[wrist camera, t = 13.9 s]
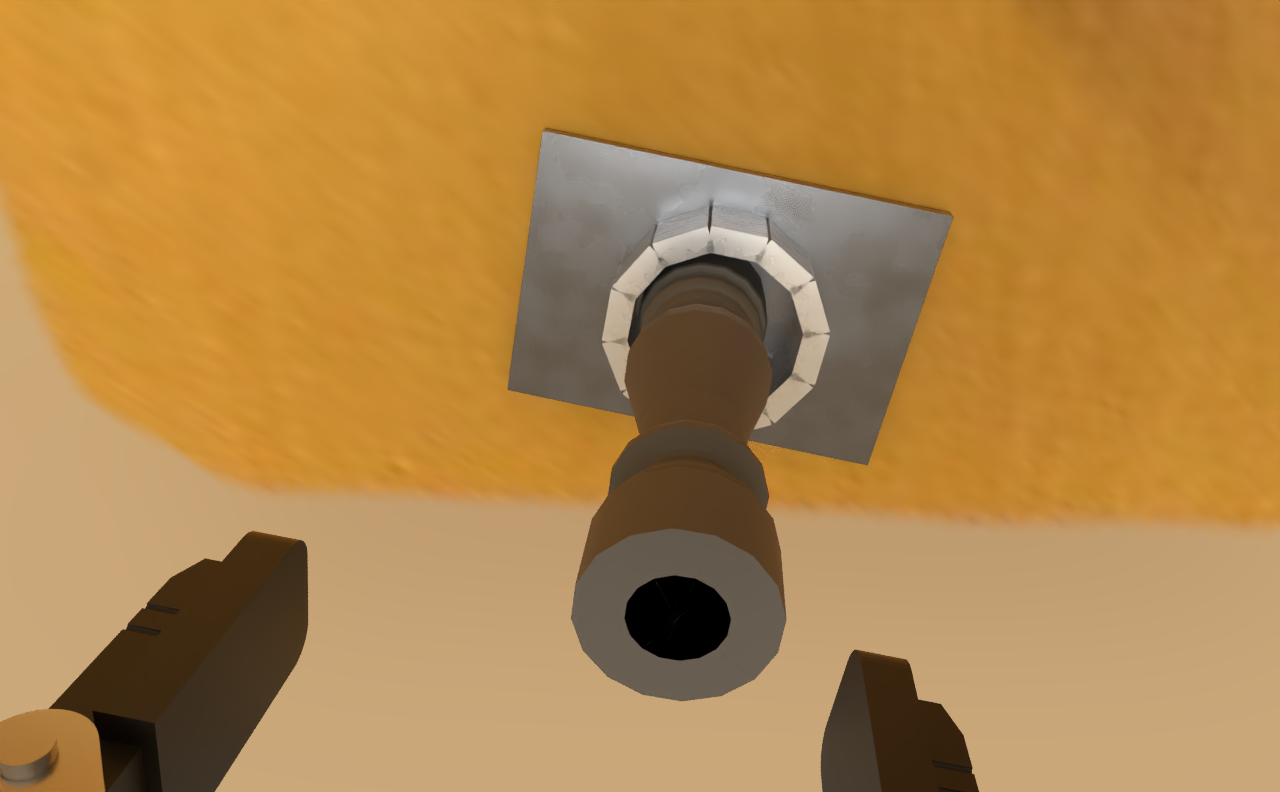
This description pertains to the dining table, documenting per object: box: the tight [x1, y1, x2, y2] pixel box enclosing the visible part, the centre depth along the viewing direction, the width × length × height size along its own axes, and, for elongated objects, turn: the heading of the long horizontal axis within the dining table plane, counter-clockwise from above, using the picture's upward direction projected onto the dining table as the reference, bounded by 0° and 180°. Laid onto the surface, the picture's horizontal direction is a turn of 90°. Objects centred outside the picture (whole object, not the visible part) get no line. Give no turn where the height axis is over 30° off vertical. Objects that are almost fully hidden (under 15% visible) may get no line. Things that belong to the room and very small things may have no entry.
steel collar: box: [508, 128, 953, 465], centre depth 45 cm, size 20×14×5 cm
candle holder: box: [571, 253, 786, 701], centre depth 35 cm, size 6×6×25 cm
